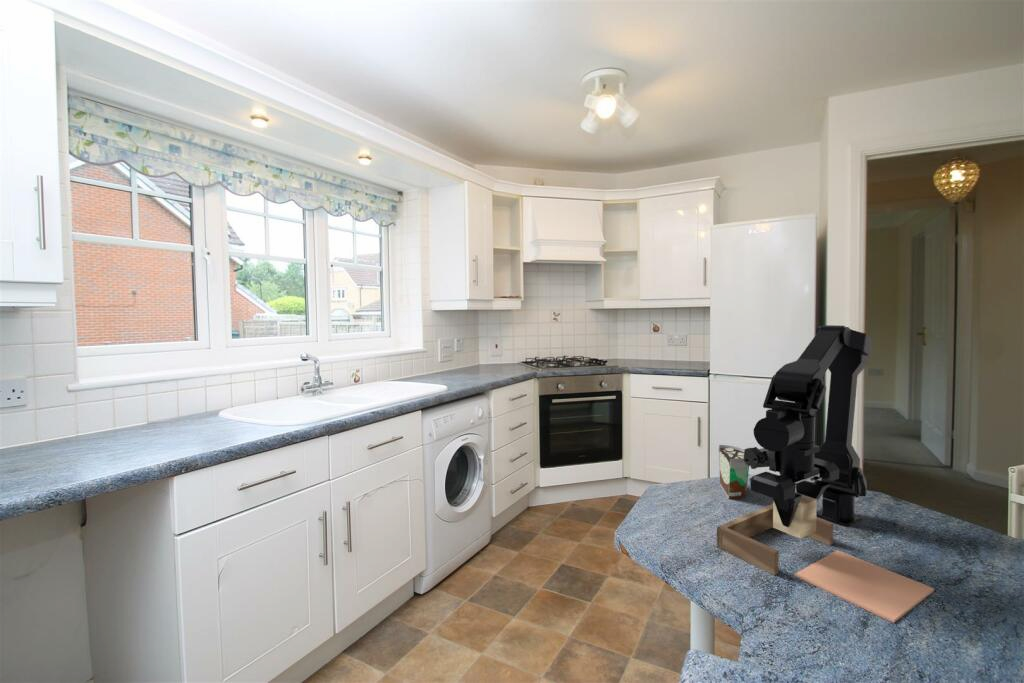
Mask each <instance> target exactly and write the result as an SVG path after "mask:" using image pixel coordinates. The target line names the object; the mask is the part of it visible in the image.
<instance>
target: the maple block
mask: <svg viewBox="0 0 1024 683" xmlns="http://www.w3.org/2000/svg"><path fill="white" fill-rule="evenodd" d="M795 493H797V492H796V491H795ZM797 494H799V493H797ZM800 495H802V494H800ZM772 501H773V500H772ZM772 504H773V527H772V528H773V529H776V530H778V531H781V532H783V533H785V534H788V535H790V536H793V537H795V538H798V539H803V538H805V537H807V535H809V534H811V533H813V532H816V517H817V516H816V513H817V511H818V510H817V508H818V507H817V505H818V501H817V499H814V498H811V497H808V496H805V495H802V497H801V500H800V502H799V505H798V507H797V510H796V512H795V515H794V518H793V520H792V522H791V525H790V526H789V527H786V526H784V525H782V522H781V519H780V516H779V513H778V511H777V508H776V505H775V503H774V501H773V502H772Z"/></svg>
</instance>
